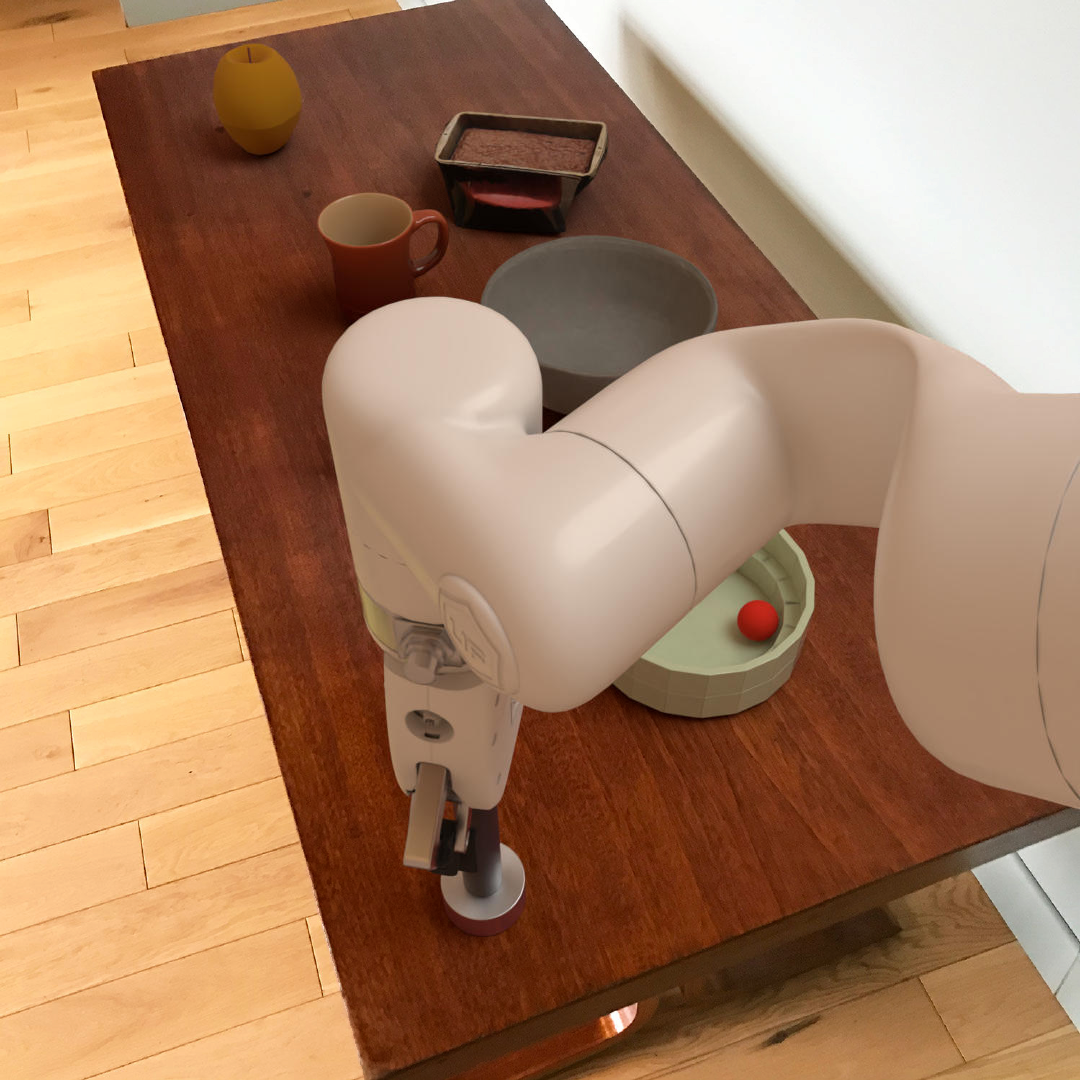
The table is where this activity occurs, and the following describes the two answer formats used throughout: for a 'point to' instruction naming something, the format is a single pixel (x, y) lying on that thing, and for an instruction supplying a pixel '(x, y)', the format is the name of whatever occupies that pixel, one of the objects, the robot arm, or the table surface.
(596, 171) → the baking dish
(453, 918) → the dark post
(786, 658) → the mixing bowl
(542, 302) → the bowl
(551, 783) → the table surface
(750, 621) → the tomato
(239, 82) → the apple
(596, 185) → the table surface
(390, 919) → the table surface
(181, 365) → the table surface
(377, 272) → the mug
